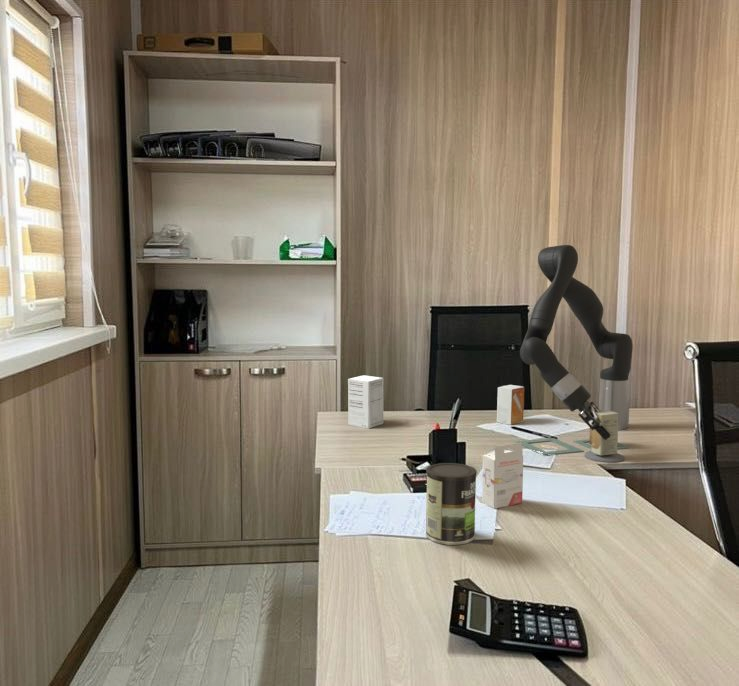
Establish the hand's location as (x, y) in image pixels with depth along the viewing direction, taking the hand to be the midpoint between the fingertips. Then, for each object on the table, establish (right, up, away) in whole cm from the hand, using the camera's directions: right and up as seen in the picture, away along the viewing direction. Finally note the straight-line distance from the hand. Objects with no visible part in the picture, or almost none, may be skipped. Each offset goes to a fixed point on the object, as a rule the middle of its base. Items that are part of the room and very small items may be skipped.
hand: (609, 434), depth 196 cm
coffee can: (-54, -13, -57) cm, 79 cm away
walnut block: (+3, -5, +15) cm, 16 cm away
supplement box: (-72, -2, +42) cm, 83 cm away
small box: (-19, -2, +47) cm, 51 cm away
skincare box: (-1, -6, +1) cm, 6 cm away
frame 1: (-14, -6, +13) cm, 20 cm away
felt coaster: (-1, -7, +1) cm, 7 cm away
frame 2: (+3, -5, +15) cm, 16 cm away
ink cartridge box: (-39, -11, -37) cm, 55 cm away
